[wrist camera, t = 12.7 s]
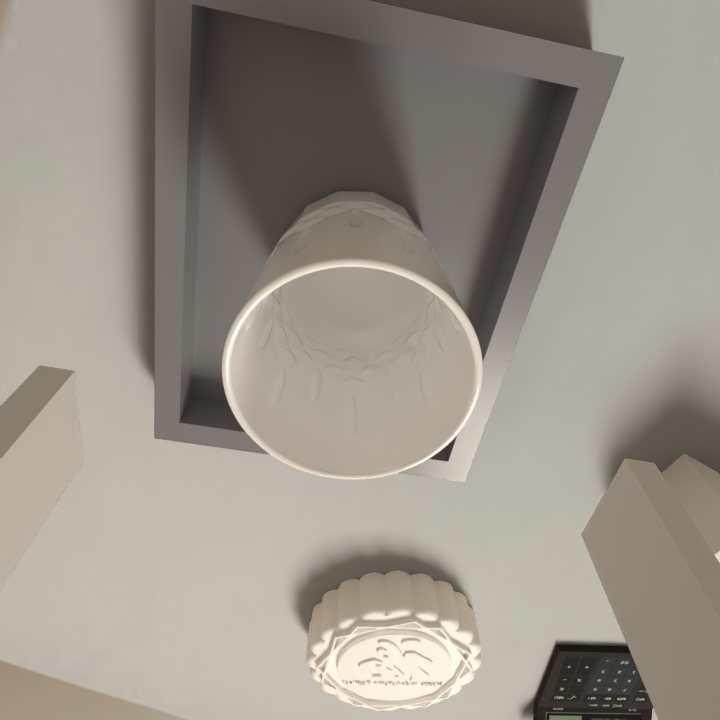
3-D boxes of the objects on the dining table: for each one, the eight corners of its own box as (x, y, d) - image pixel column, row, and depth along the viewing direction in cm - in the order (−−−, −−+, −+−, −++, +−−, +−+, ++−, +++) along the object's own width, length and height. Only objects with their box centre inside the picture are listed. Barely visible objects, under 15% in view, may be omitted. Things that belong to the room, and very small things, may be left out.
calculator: (678, 644, 42) (698, 683, 40) (631, 725, 48) (647, 765, 46) (555, 640, 42) (568, 680, 39) (524, 723, 48) (534, 762, 45)
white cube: (677, 549, 37) (729, 635, 31) (609, 515, 35) (653, 600, 30) (753, 491, 34) (823, 574, 29) (683, 451, 32) (745, 532, 27)
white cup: (365, 367, 28) (368, 514, 20) (234, 274, 26) (172, 397, 17) (477, 252, 25) (538, 367, 17) (340, 133, 23) (330, 198, 14)
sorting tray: (180, -38, 20) (155, -48, 18) (593, 54, 22) (624, 57, 19) (171, 403, 30) (154, 438, 28) (455, 445, 32) (464, 482, 29)
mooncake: (486, 569, 38) (497, 617, 35) (463, 671, 44) (471, 720, 41) (308, 565, 38) (304, 613, 34) (310, 669, 44) (306, 717, 41)
